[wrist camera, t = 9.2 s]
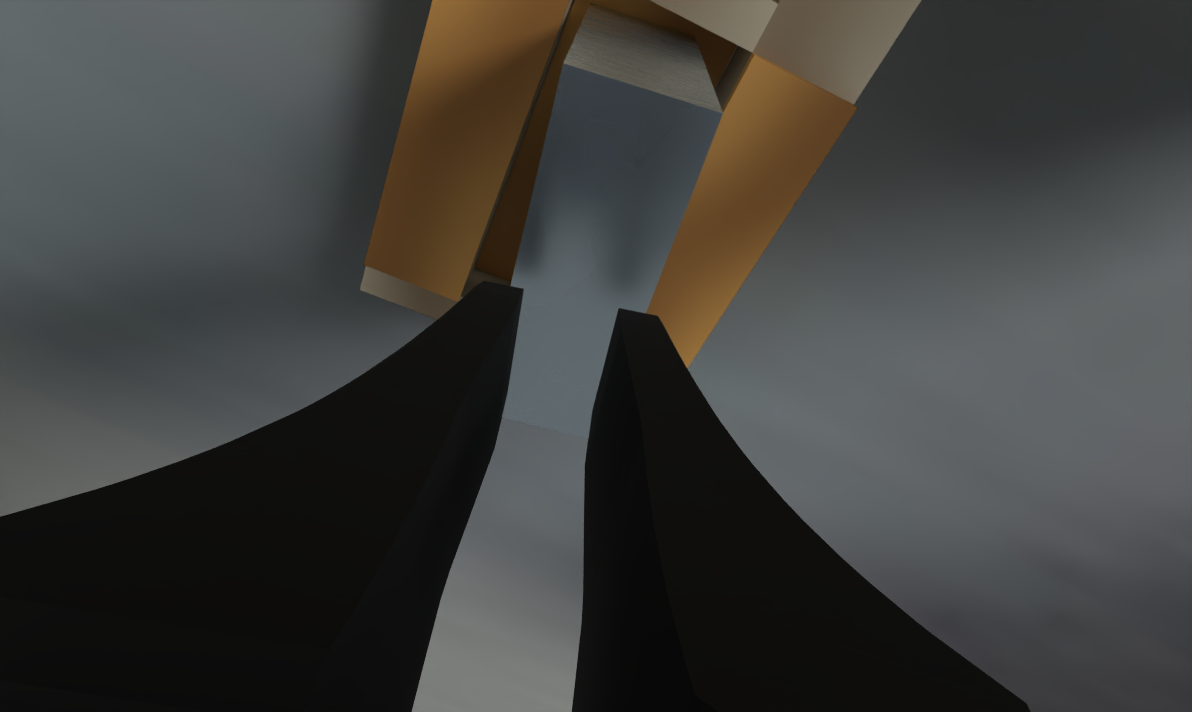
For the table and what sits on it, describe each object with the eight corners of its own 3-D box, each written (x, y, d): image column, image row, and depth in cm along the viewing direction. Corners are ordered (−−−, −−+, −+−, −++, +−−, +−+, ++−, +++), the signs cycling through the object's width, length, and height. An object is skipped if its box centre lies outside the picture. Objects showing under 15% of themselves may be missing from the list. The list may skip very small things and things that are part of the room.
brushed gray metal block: (694, 36, 15) (723, 113, 10) (609, 289, 19) (596, 440, 14) (590, 2, 15) (563, 63, 10) (525, 266, 19) (480, 412, 14)
